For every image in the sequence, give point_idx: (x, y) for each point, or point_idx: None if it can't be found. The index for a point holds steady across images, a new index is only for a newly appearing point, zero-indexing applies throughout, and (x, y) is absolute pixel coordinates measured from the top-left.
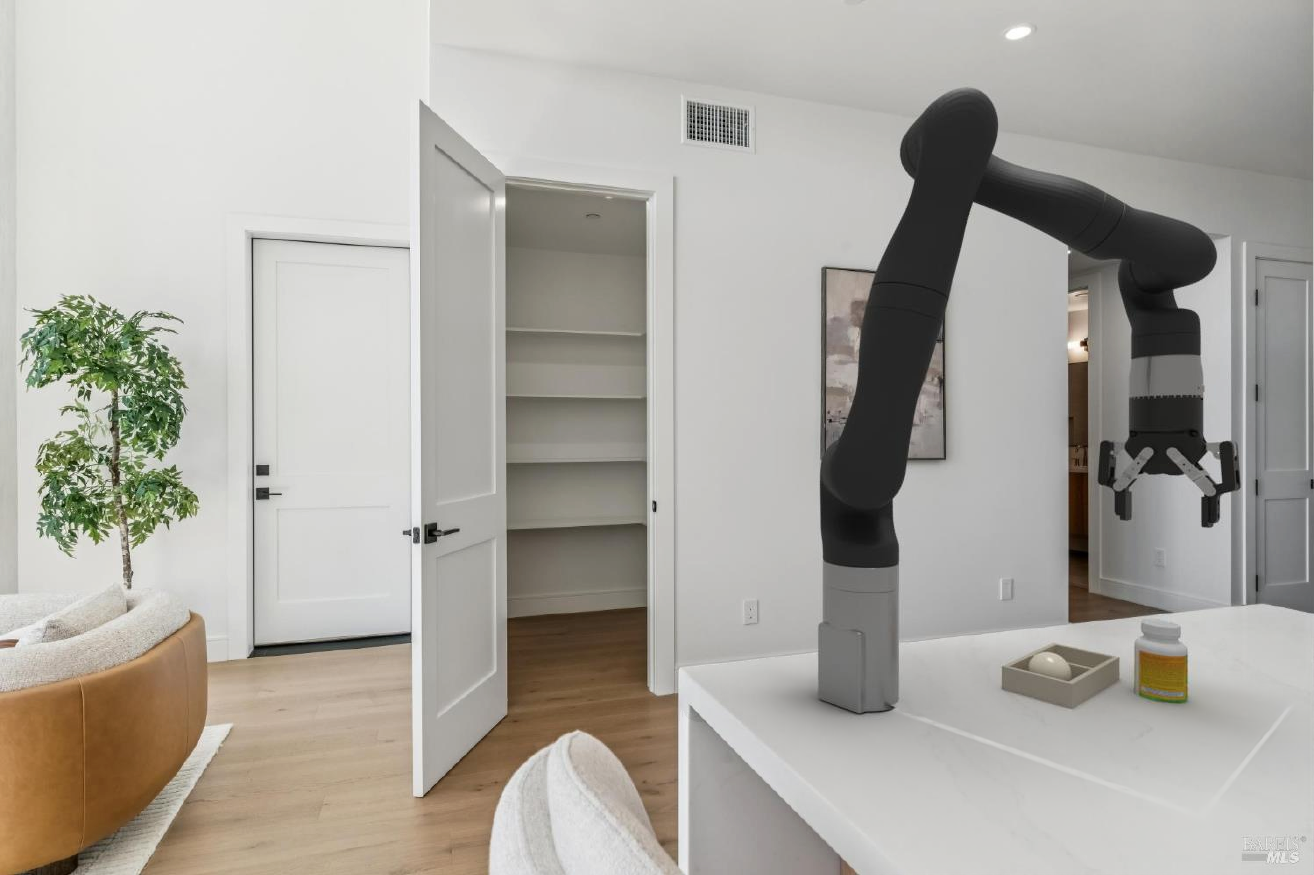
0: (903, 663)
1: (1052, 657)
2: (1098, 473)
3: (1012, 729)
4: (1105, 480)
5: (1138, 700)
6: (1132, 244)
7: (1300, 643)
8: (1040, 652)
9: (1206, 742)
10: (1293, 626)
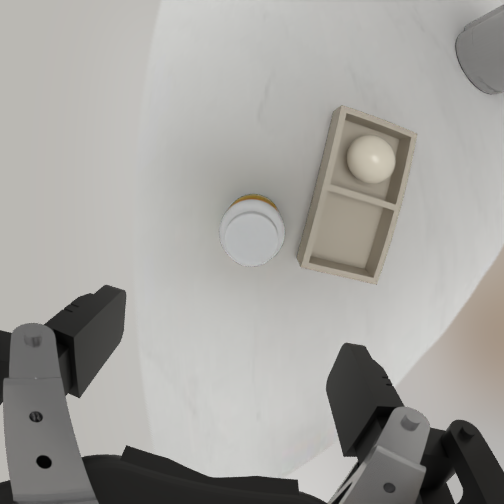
0: (489, 184)
1: (374, 147)
2: (491, 453)
3: (369, 41)
4: (461, 434)
5: None
6: None
7: None
8: (388, 228)
9: (210, 111)
10: None
